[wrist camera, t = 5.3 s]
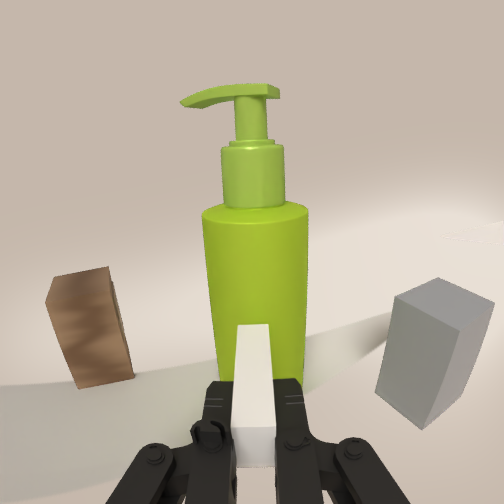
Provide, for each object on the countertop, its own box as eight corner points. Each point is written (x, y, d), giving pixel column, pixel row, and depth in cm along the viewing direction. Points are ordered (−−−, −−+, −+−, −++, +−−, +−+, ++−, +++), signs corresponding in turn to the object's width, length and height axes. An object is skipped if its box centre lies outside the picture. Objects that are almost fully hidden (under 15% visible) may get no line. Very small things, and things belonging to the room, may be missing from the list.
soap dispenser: (231, 355, 26) (213, 98, 20) (311, 372, 23) (315, 89, 17) (195, 398, 21) (155, 90, 14) (286, 426, 18) (284, 69, 12)
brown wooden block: (78, 389, 21) (45, 302, 19) (78, 355, 25) (54, 277, 23) (136, 377, 23) (111, 289, 21) (129, 345, 27) (110, 265, 25)
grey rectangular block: (421, 430, 16) (459, 331, 14) (374, 392, 20) (394, 296, 18) (461, 395, 18) (495, 302, 16) (417, 365, 22) (439, 276, 20)
